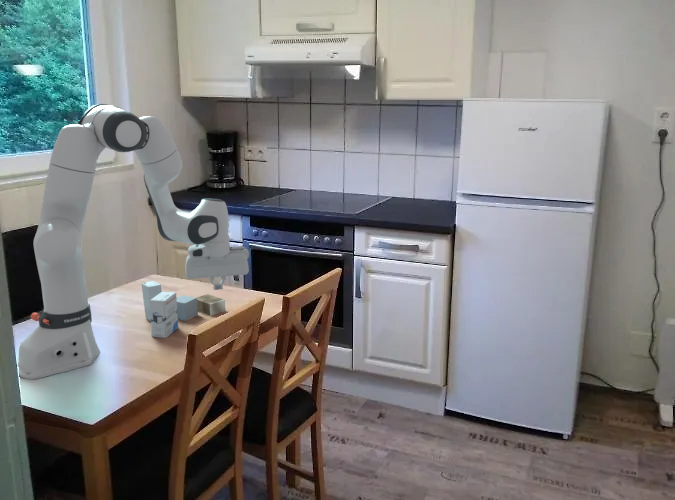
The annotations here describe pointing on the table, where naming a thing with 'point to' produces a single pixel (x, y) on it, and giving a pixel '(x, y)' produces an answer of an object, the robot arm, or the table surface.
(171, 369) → the table surface
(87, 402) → the table surface
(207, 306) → the walnut block
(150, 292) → the skincare box
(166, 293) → the ink box
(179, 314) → the slate block
